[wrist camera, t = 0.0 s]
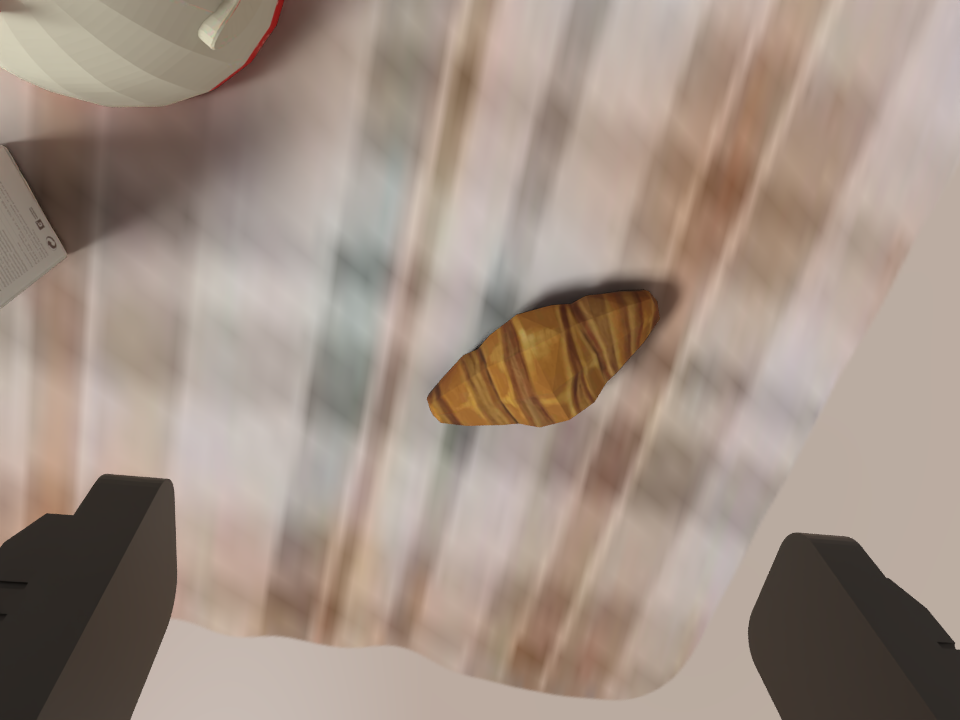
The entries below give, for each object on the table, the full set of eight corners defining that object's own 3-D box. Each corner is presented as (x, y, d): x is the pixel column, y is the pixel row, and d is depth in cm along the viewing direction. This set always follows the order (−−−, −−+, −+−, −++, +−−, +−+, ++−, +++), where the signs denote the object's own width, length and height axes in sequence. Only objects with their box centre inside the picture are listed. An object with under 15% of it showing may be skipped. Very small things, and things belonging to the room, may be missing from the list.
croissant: (458, 444, 43) (462, 496, 38) (401, 353, 40) (398, 398, 35) (672, 344, 41) (703, 387, 36) (628, 240, 38) (656, 273, 33)
